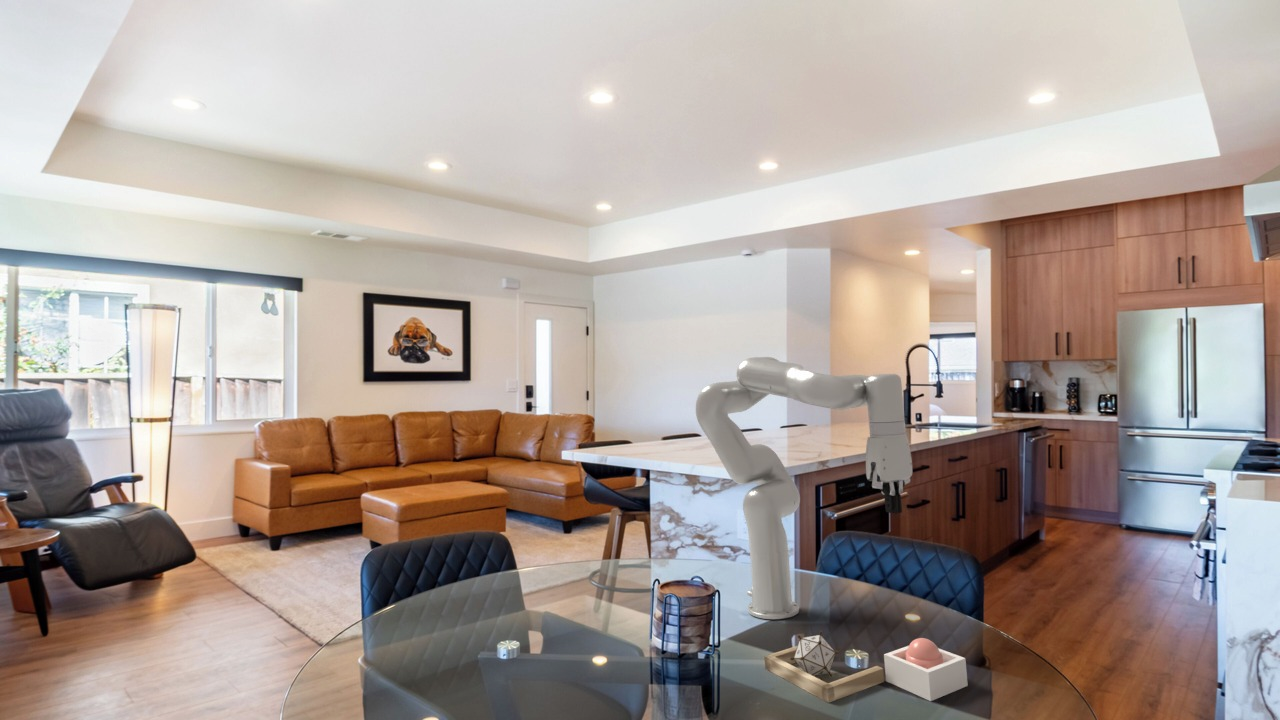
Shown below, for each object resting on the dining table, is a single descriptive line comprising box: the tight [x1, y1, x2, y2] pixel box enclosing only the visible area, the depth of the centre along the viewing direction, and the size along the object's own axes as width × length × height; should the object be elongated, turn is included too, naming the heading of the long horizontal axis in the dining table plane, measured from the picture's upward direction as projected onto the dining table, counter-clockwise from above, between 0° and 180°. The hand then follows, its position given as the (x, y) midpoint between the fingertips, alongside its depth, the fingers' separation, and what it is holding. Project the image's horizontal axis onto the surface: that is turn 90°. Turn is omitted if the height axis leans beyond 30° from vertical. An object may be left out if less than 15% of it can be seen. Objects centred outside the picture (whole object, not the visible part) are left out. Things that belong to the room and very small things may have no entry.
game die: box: [790, 630, 841, 678], centre depth 133 cm, size 9×8×10 cm
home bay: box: [763, 645, 885, 704], centre depth 133 cm, size 18×14×2 cm
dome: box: [905, 637, 943, 669], centre depth 126 cm, size 6×6×6 cm
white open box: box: [883, 645, 968, 702], centre depth 126 cm, size 10×10×5 cm
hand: (893, 512), depth 150 cm, fingers closed
